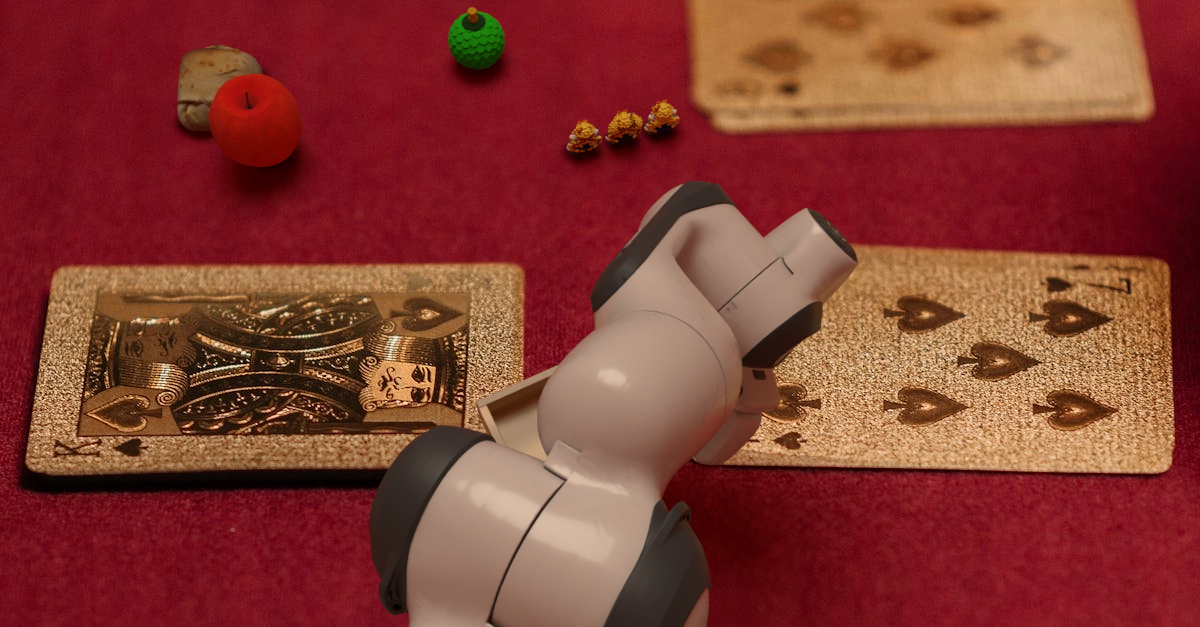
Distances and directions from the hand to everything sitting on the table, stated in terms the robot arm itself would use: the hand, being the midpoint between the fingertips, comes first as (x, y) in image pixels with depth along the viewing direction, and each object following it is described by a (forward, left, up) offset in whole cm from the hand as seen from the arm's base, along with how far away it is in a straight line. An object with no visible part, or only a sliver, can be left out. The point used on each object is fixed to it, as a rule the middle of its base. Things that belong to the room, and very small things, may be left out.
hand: (634, 414), depth 117 cm
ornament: (+66, -9, -14) cm, 68 cm away
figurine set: (+43, -21, -14) cm, 50 cm away
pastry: (+76, +27, -14) cm, 82 cm away
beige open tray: (-2, +10, +10) cm, 14 cm away
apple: (+63, +24, -14) cm, 69 cm away
